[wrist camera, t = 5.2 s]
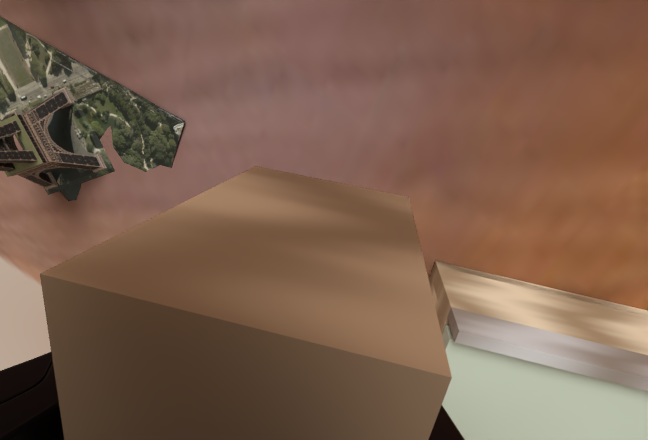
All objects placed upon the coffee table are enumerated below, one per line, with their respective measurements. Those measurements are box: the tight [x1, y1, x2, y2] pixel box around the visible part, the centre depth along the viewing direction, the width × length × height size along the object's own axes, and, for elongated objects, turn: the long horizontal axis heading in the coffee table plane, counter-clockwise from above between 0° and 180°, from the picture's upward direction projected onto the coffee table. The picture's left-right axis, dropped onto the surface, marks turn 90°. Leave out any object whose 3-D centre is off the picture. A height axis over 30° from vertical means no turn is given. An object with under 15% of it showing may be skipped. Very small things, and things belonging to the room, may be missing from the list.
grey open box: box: [429, 261, 648, 391], centre depth 19 cm, size 14×13×7 cm
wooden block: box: [40, 166, 452, 440], centre depth 7 cm, size 4×7×6 cm, turn 171°
